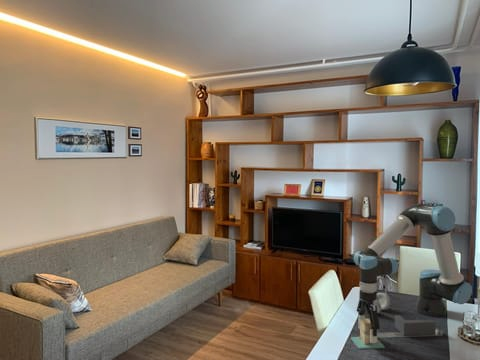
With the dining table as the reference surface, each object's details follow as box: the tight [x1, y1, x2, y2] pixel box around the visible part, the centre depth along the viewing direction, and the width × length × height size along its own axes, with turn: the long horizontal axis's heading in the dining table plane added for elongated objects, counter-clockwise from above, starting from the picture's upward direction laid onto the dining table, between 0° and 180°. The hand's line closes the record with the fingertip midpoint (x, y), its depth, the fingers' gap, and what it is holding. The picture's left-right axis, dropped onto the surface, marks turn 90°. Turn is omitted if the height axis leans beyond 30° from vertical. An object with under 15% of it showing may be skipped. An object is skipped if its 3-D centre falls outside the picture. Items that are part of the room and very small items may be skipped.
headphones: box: [373, 276, 392, 314], centre depth 210 cm, size 19×9×20 cm, turn 127°
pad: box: [350, 336, 385, 350], centre depth 175 cm, size 12×10×1 cm
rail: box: [377, 325, 444, 339], centre depth 183 cm, size 35×4×2 cm, turn 94°
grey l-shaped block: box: [394, 314, 437, 335], centre depth 186 cm, size 16×9×6 cm, turn 94°
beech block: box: [359, 317, 375, 345], centre depth 175 cm, size 5×5×10 cm
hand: (367, 335), depth 175 cm, fingers open, 13 cm apart
